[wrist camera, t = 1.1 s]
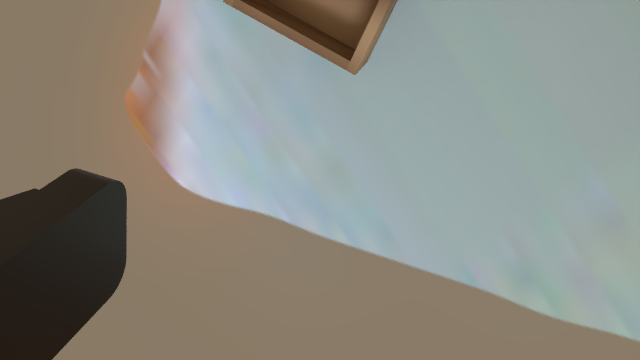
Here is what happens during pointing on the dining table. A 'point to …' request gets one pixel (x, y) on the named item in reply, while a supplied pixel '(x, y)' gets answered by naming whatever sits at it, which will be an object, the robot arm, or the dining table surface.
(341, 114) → the dining table surface
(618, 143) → the dining table surface
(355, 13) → the bin
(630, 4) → the dining table surface
